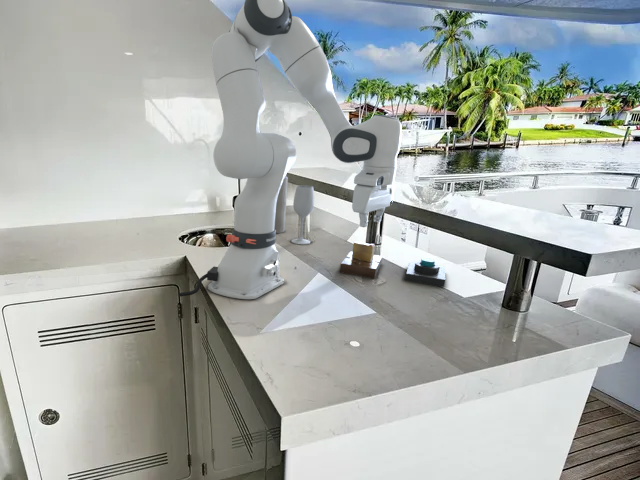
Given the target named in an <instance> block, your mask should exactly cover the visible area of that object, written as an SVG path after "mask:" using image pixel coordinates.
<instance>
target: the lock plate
mask: <svg viewBox="0 0 640 480" xmlns="http://www.w3.org/2000/svg"><path fill="white" fill-rule="evenodd" d="M352 253H353V251H349V252H348V253H347V255H346V256H345V258H343V260H342V262H341V263H340V268H339V273H340V274H344V275H345V274H346V275H352V276H356V277H357V276H358V277H362V278H368V279H375V278H376V276H377V274H378V272H379V270H380V268H381V266H382V261H383V255H378V254H374V257H373V261H372V262H367V261H363V260H359V259H354V258H352Z"/></svg>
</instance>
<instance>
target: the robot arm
mask: <svg viewBox="0 0 640 480" xmlns="http://www.w3.org/2000/svg"><path fill="white" fill-rule="evenodd" d="M291 10H292V9H291V8H290V6H289V5H288V3H287V1H286V0H244V3H243V5H242V6H241V8H240V9H239V11H238V12H237V14H236V16H235V17H234V20H233V22H232V25H231V27H230V29H229V31H228V32H224V33H222V34H221V35H219V36H218V37H217V38H216V39H215V40H214V41H213V43H212V46H211V63H212V72H213V76H214V82H215V85H216V90H217V94H218V97H219V101H220V106H221V111H222V117H223V118H222V119H223V126H222V132H221V135H220V137H219V139H218V140H217V141H216V143H215V145H214V149H213V155H212V156H213V163H214V165H215V166H214V167H215V168H216V171H218V172H219V174H221V176H223V177H226V178H230V179H236V180H245V179H246V182H245V185H244V187H243V189H242V191H241V192H240V193H239V194H237V196H236V198H235V199H234V204H233V205H234V209H233V211H234V213H233V228H232V231H231V234H227V235H226V237H225V239H226V242H227V243H230V245H229V247H228V248H227V250H226V252H225V253H224V255H223V257H222V258H221V260H220V262H219V263H218V266H212V267H211V268H210V269H208V270H207V272H206V273H205V274H204V275H201V277H200V278H199V279H198V281H197V283H196V286H195V288H194V289H193V290H189V291H183V292H179V293H178V297H187V296H192V295H194V294H196V293H198V292H199V290H200V288H201V284H202V282H203V281H204V280H207V281H210V282H209V283H208V285H207V290H209V291H210V292H211V293H214V294H217V295H220V296H223V297H228V298H232V299H238V300H239V299H241V300H256V299H258V298H259V297H262V296H263V295H265V294H267V293H269V292H271V291H273V290H274V289H276V288H278V287H280V286H282V285H284V284H285V279H284V278H283V277H281V273H280V271H281V267H280V264H281V263H280V261H281V260H280V252H279V251H278V249H277V248H276V245H275V244H276V239H277V233H276V230H275V229H274V228H275V214H276V203H277V198H278V194H279V191H280V188H281V185H282V183H283V180H284V178H285V176H286V177H287V174H288V172H289V171H290V170H291V169H292V168H293V166H294V165H295V163H296V160H297V150H296V145H295V144H294V142H293V141H292V140H291V139H290V138H288V137H287V136H284V135H282V134H278V133H273V132H272V133H270V132H269V133H268V132H261V129H260V115H262V114H263V112H264V110H265V108H266V102H267V101H266V98H265V97H266V96H265V93H264V88H263V85H262V81H261V77H260V74H259V70H258V66H257V63H256V62H258V61H259V60H260V59H261V58H262V56H263V54H264V53H265V52H266V51H268V52H269V53H271V54H272V55H274V57H275V58H276V60H278V63H279V65H280V66H281V70H282V71H283V72H284V74H285V77H286V78H287V79H288V81H289V82H290V84H291V85H292V87H294V89H295V90H296V91H297V92H298V93H299V94H300V96H301V97H302V98H304V99H305V100H306V101H307V102H308V103H309V104H310V105H311V106H312V107H313V108H314V109H315V111H316V112H317V114H318V115H319V118H320V119H321V121H322V122H323V125H324V126H325V128H326V130H327V131H328V134H329V136H330V144H331V145H330V146H331V151H332V154H333V156H334V157H335V158H336V159H337V160H338V161H340V162H342V163H344V164H354V163H358V162H363V167H362V169H361V170H360V172H359V173H357V174H356V175H355V176H354V177H353V184H354V185H355V186H354V188H353V194H352V204H351V208H352V211H353V212H354V213H357V214H358V217H359V227H361V228H367V227H368V225H369V220H368V216H369V213H371V212H373V211H376V212H375V215H374V216H373V222H374V223H381V221H382V218H383V215H384V212H385V210H386V208H387V207H391V206H390V202H391V201H392V200H393V201H394V194H395V178H396V172H397V167H398V166H397V159H398V158H397V157H398V154H399V153H400V149H401V143H402V132H403V126H402V122H401V121H400V120H399V119H398V118H396V117H393V116H390V115H385V114H384V115H383V114H375V115H373V116H372V117H369V119H367V120H365V121H363V122H361V123H358V124H354V125H353V124H352V123H351V122H350V121H349V120H348V118H347V116H346V114H345V112H344V111H343V109H342V107H341V105H340V102H339V101H338V99H337V97H336V95H335V91H334V86H333V78H332V71H331V68H330V65H329V61H328V59H327V57H326V54H325V52H324V50H323V48H322V46H321V44H320V43H319V41H318V40H317V38H316V36H315V35H314V33H313V32H312V31H311V29H310V28H309V26H307V24H306V23H305V22H304V21H303V20H302V19H301V18H300V17H299V16H297V15H296V16H295V15H294V16H293V15H292V11H291ZM393 201H392V202H393Z"/></svg>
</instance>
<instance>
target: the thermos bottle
mask: <svg viewBox="0 0 640 480" xmlns="http://www.w3.org/2000/svg"><path fill="white" fill-rule="evenodd" d="M288 183H289V177H288V176H287V175H286V176H285V178H284V180H283V183H282V185H281V188H280V191H279V194H278V198H277V203H276V214H275V228H274V229H275V230H276V234H282V233H284V232H285V231H286V230H285V229H286V214H287V213H286V212H287V198H288V197H287V196H288Z"/></svg>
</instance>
